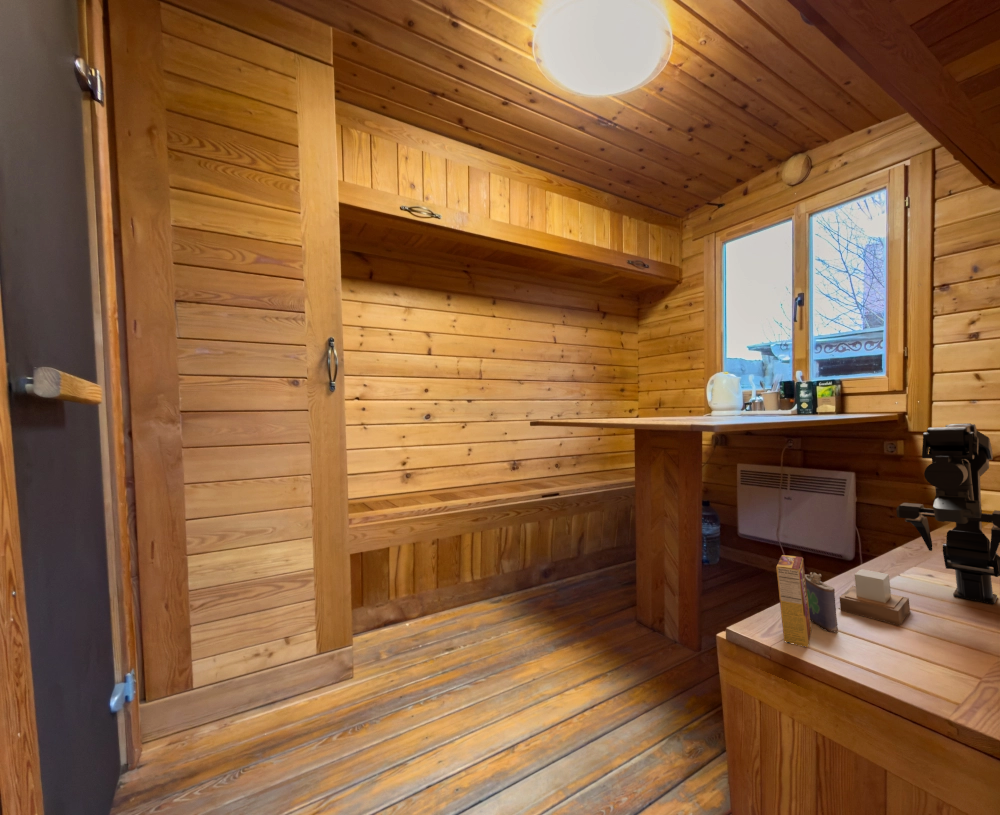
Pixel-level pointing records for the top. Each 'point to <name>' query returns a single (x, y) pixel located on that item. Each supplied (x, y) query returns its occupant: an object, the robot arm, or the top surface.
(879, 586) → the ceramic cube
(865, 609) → the walnut plinth
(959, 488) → the robot arm
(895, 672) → the top surface
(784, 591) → the candy box
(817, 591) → the flask
